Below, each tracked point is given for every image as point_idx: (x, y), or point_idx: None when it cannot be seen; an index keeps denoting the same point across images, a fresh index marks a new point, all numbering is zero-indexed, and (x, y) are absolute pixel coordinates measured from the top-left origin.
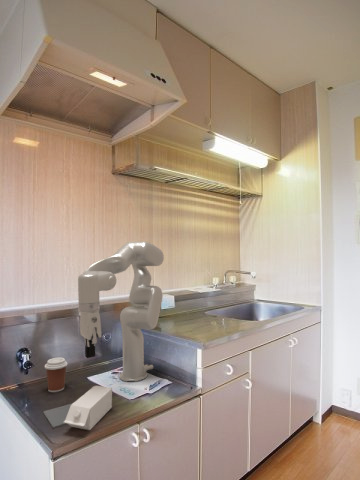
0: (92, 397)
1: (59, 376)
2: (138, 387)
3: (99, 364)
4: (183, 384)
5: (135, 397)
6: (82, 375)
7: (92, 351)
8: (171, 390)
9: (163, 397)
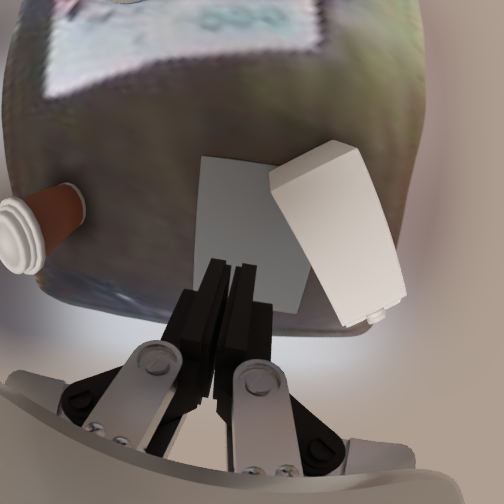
0: (361, 257)
1: (57, 224)
2: None
3: (9, 48)
4: None
5: (316, 28)
6: (31, 107)
7: (269, 336)
8: None
9: None
